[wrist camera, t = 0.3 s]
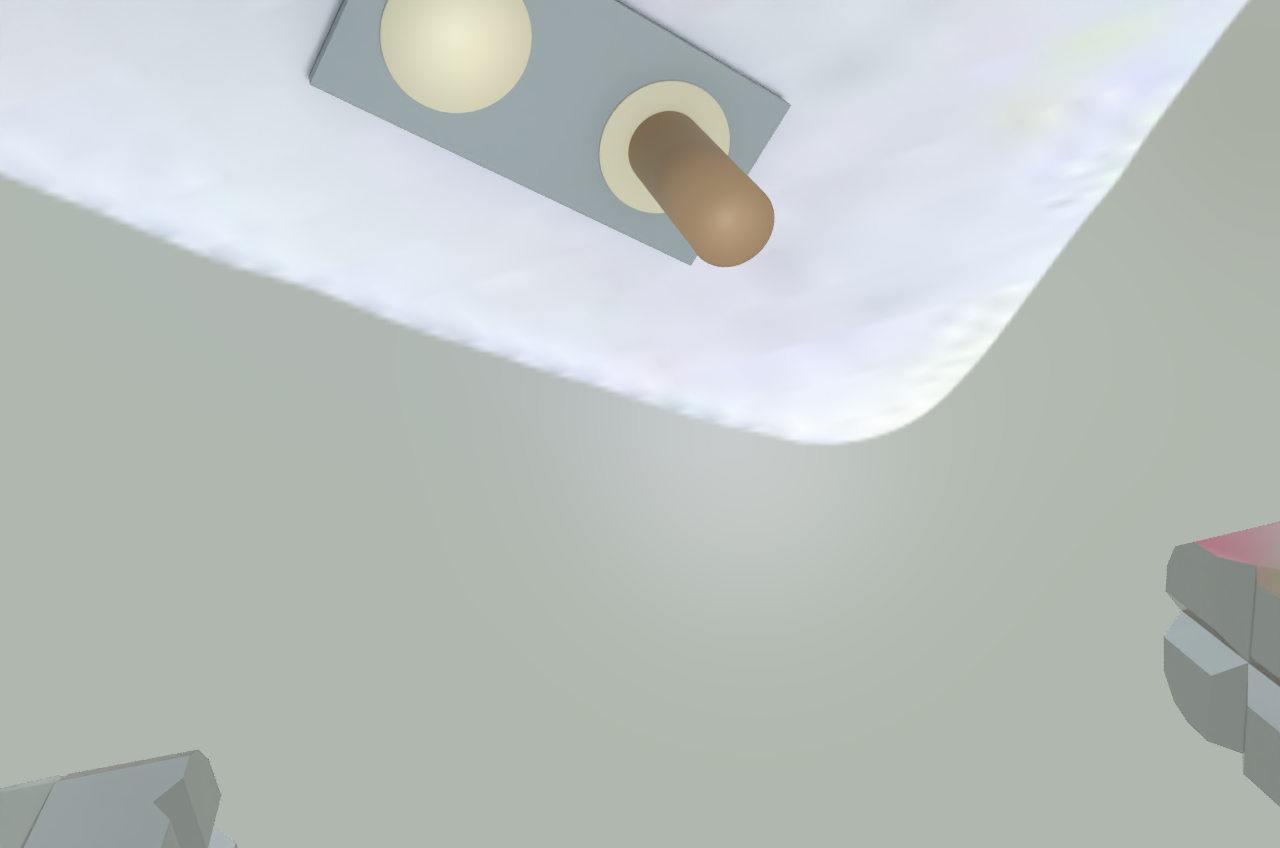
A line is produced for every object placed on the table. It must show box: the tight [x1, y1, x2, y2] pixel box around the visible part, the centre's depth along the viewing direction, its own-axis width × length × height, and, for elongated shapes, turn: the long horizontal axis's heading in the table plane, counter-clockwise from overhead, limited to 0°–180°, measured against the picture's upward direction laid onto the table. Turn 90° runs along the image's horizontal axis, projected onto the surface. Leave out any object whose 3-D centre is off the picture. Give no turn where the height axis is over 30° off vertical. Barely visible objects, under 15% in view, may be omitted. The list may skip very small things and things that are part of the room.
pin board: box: [309, 0, 791, 267], centre depth 53 cm, size 10×22×11 cm, turn 58°
